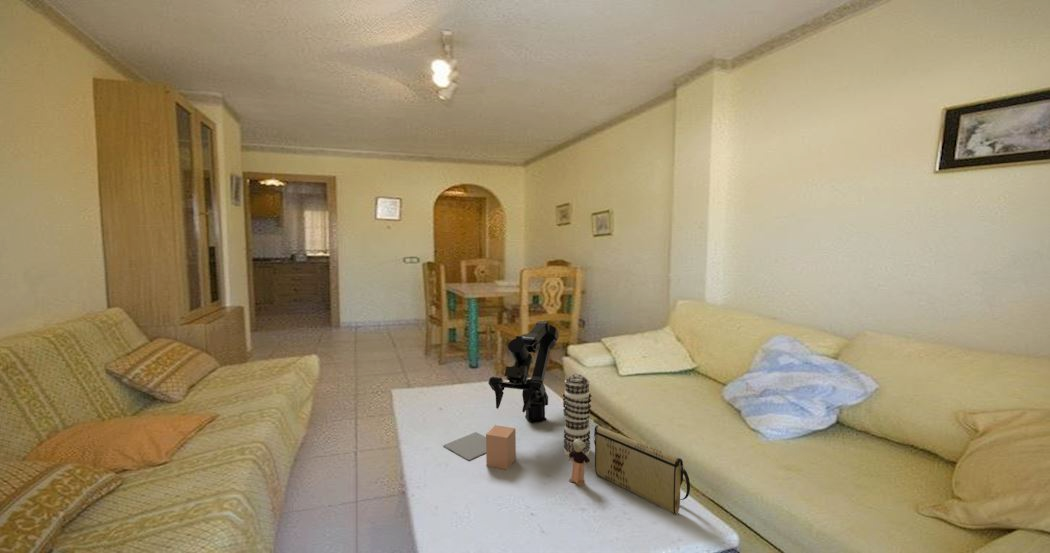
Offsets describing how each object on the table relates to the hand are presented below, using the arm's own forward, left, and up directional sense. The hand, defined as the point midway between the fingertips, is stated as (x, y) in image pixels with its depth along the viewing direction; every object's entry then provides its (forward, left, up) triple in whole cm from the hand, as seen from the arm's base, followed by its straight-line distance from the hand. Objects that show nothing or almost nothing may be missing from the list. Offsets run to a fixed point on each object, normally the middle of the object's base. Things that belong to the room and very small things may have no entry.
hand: (509, 410), depth 144 cm
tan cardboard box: (+6, +6, -14) cm, 16 cm away
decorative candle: (-19, +10, -14) cm, 26 cm away
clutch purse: (-23, +36, -14) cm, 45 cm away
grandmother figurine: (-10, +26, -14) cm, 31 cm away
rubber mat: (+11, -8, -14) cm, 19 cm away
